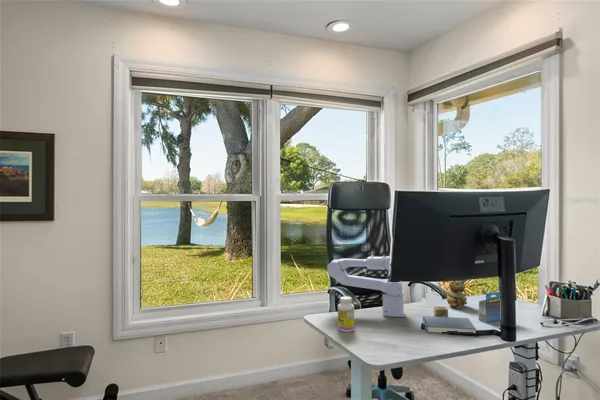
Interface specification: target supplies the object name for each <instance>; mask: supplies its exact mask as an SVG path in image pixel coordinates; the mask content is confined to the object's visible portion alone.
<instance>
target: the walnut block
mask: <svg viewBox="0 0 600 400" xmlns="http://www.w3.org/2000/svg"><path fill="white" fill-rule="evenodd" d="M433 315H434V317H449V309H448V307H447V306H438V305H437V306H436V305H434V306H433Z"/></svg>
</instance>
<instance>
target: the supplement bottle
mask: <svg viewBox="0 0 600 400" xmlns="http://www.w3.org/2000/svg"><path fill="white" fill-rule="evenodd" d="M339 301H340V303H338V305H337V329H338V330H339V331H340V332H342V331H343V333H350V332H353V331H355V327H356V325H355V305H354V304H353V303H352V297H351V296H346V295H345V296H340V297H339Z"/></svg>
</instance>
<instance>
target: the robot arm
mask: <svg viewBox="0 0 600 400" xmlns="http://www.w3.org/2000/svg"><path fill="white" fill-rule="evenodd" d="M389 261H390V255H387V256H385V255H382V256H375V255H370V256H368V257H367V258H366V259H365V258H363V259H362V258H339V259H337V258H334V259H332V260H331V262H329V263H328V264H327V266H326V271H327V273H328V275H329V277H331V278H333V279H334V280H336V281H337V282H339V284H341V285H343V286H350V287H355V288H364V289H369V290H376V291H382V292H383V293H386V294H382V307H381V308H382V309H381V310H382V316H383V317H394V318H395V317H396V318H397V317H399V318H405V317H406V313H405V309H404V293H403V283H402V281H401V282H390V281H389V279H390V278H385V279H384V278H383V279H382V278H374V277H367V276H359V275H351V274H349V273H348V272H347V270H346V269H348V268H352V267H353V268H354V267H356V268H357V267H366V268H367V269H368V270H384V269H385V270H387V271H389ZM389 272H390V271H389Z"/></svg>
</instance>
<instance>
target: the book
mask: <svg viewBox="0 0 600 400" xmlns="http://www.w3.org/2000/svg"><path fill="white" fill-rule="evenodd" d="M423 323H424V324H423ZM422 324H423V326H424V325H425V327H424V330H425V332H426V333H431V334H433V333H434V334H436V333H437V334H443V333H442V332H447V331H458V332H473V333H475V334H476V329H477V328H476V327H475V325H474V324H473V322H472V321H471V319H469V318H468V317H453V316H450V317H449V316H448V317H434V316H431V315H430V316H429V315H422Z"/></svg>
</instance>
